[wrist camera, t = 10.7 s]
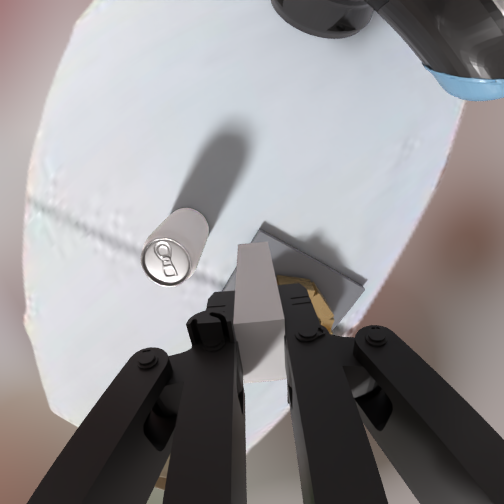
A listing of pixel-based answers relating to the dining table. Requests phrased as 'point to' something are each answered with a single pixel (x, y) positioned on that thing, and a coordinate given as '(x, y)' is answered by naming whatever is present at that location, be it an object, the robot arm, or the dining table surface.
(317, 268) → the base
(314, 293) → the ring nut
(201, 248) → the can
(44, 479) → the robot arm
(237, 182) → the dining table surface
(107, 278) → the dining table surface
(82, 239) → the dining table surface
